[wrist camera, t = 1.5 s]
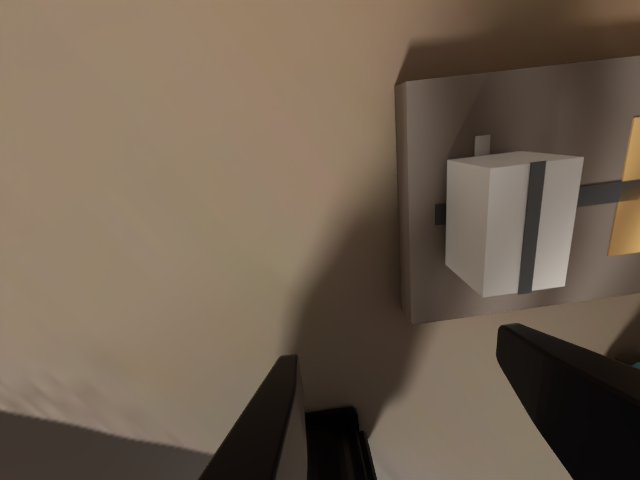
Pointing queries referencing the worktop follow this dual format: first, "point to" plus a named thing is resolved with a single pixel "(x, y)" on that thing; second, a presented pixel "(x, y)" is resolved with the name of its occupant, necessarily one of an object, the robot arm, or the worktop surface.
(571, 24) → the worktop surface
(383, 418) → the worktop surface
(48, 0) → the worktop surface
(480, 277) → the fader knob
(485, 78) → the fader console
